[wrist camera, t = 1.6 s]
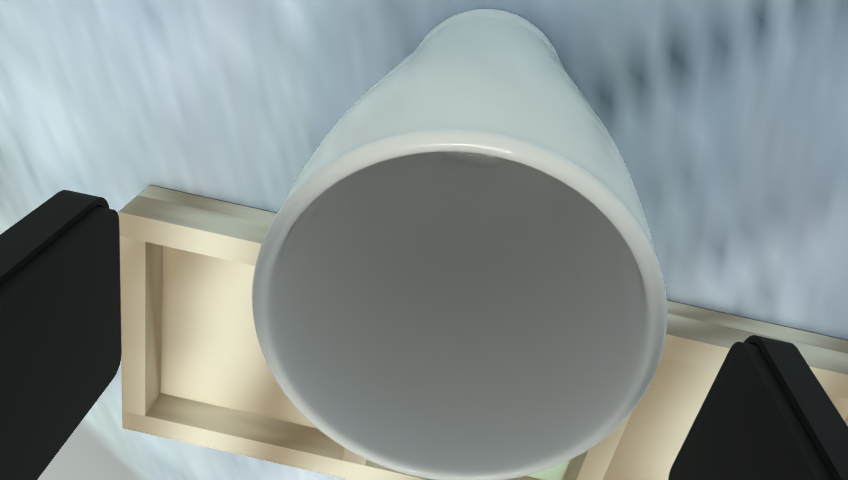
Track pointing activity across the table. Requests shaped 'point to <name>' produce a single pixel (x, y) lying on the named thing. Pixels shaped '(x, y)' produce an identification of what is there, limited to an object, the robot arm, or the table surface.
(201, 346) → the wooden compartment tray
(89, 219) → the robot arm
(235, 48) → the table surface
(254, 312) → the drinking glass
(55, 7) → the table surface
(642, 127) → the table surface
